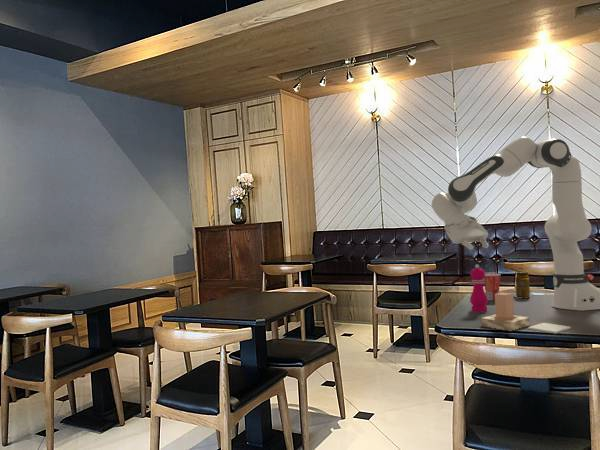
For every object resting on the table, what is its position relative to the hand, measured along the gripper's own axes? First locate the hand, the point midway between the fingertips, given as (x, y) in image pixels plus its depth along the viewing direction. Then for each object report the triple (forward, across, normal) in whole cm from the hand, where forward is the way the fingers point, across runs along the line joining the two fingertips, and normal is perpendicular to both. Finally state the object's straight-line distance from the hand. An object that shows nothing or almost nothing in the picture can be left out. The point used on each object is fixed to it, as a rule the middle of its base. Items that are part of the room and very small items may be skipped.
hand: (479, 247), depth 199 cm
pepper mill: (+14, +10, +26) cm, 31 cm away
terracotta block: (+30, -7, +10) cm, 32 cm away
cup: (+5, +36, +34) cm, 50 cm away
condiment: (+11, +49, +29) cm, 58 cm away
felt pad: (+40, -1, 0) cm, 40 cm away
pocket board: (+30, -7, +9) cm, 32 cm away
